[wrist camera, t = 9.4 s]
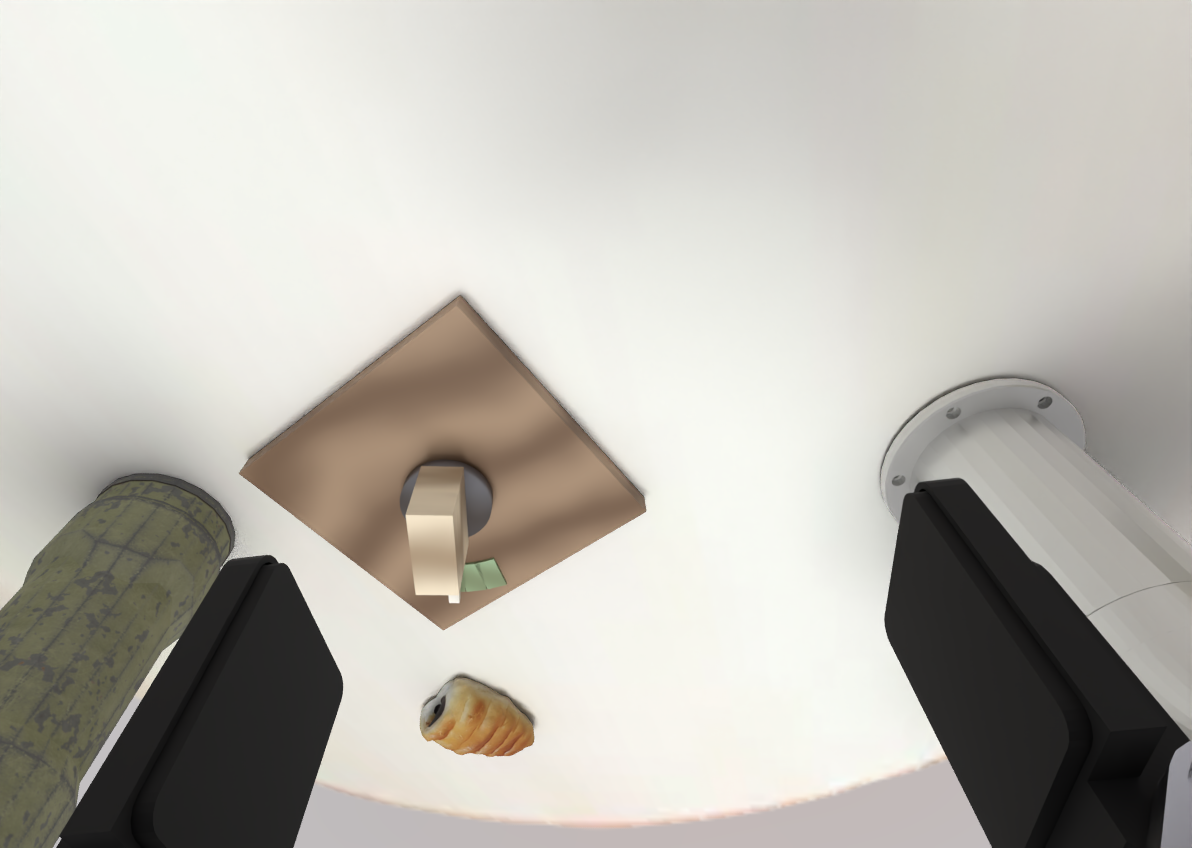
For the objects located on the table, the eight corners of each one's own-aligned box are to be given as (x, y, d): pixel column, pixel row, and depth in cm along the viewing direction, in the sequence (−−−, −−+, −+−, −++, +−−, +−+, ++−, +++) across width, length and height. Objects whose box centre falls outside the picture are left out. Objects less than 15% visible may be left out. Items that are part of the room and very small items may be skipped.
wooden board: (644, 497, 46) (646, 513, 44) (446, 614, 51) (442, 632, 49) (460, 295, 38) (456, 307, 36) (248, 459, 43) (237, 475, 41)
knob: (398, 455, 41) (376, 514, 36) (491, 457, 41) (481, 516, 37) (415, 592, 47) (398, 657, 42) (496, 593, 47) (488, 657, 43)
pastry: (552, 708, 58) (550, 750, 54) (508, 746, 60) (504, 789, 57) (456, 666, 54) (448, 709, 51) (414, 709, 57) (405, 752, 54)
